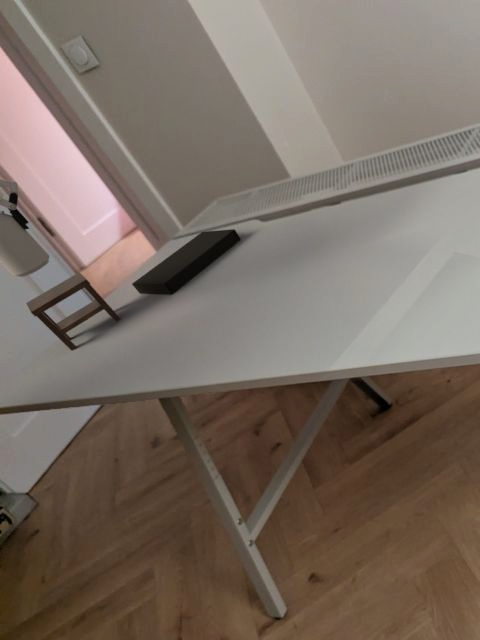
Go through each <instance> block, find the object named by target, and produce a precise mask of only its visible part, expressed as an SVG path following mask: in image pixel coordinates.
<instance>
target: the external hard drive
mask: <svg viewBox="0 0 480 640" xmlns="http://www.w3.org/2000/svg"><path fill="white" fill-rule="evenodd" d="M240 239H241V237H240V235H239V234H238V232H237V231H236V229H234V228H233V229H220V230H209V231H208V230H207V231H201V232H200V233H199V234H197V235H196V236H195V237H193V238H192V239H190V240H189V241H188V242H186V243H185V244H183V246H181V247H180V248H178V249H177V250H176V251H174V252H173V253H172V254H170V255H169V256H168V257H166V258H165V259H163V260H162V261H161V262H159V263H158V264H157V265H155V266H154V267H152V268H151V269H150V270H148V271H147V272H146V273H145V274H143V275H142V276H140V277H139V278H137V279H136V280H135V281H134V282H132V283H131V285H132V287H133V288H134V289H135V290H136V291H137V292H138V294H140V295H170V296H171V295H173V294H175V292H177V291H178V290H179V289H181V288H182V287H183V286H184V285H185V284H187V283H188V282H189V281H191V280H192V279H193V278H194V277H196V276H197V275H199V274H200V272H202V271H203V270H204V269H206V268H207V267H208V266H209V265H211V264H213V262H214V261H216V260H217V259H218V258H219V257H221V256H222V255H223V254H224V253H225V252H227V251H228V250H230V249H231V248H232V247H234V245H236V244H237V243H238V242H239V241H241V240H242V239H241V240H240ZM237 241H238V242H237ZM236 242H237V243H236ZM235 243H236V244H235Z"/></svg>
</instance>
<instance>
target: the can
mask: <svg viewBox="0 0 480 640" xmlns="http://www.w3.org/2000/svg"><path fill="white" fill-rule="evenodd" d="M49 259H50V255H49V253H48V252H47V251H46V250H45V249H44V248H43V247H42V246H41V245H40V244H39V242H38V241H37V240H36V239H35V238H34V237H33V236H32V235H31V234H30V233H29V231H28V230H27V229H24V228H23V226H22V225H21V224H20V223H19V222H18V221H17V220H16V219H15V218H14V217H13V216H12V214H8V213H5V210H0V264H1V265H2V266H3V267H4V268H5V269H6V270H7V271H8V272H9V273H10V274H11V275H12V276H14V277H20V278H23V277H24V278H25V277H28V276H30V275H32V274H35V273H36V272H38V271H40V270H41V269H42V268H44V267H45V266H47V265H48V263H50V261H49Z"/></svg>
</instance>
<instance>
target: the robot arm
mask: <svg viewBox="0 0 480 640" xmlns="http://www.w3.org/2000/svg"><path fill="white" fill-rule="evenodd" d="M18 186H19V185H18V183H17V182H16V181H12V180H5V179H0V187H1V188H8V190H9V196H8V200H7V199H4V198H3V197H4V195H3V192H2V191H1V190H0V206H2V207H4V208H6V209H7V210H8V212H9V213H10V215H12V216H13V217H14V218H15V219H16V220H17V221H18V222H19V223H20V224H21V225H22V226H23V228H24V229H26V230H29V229H30V227H29V226H28V225H27V224H29V223H30V221H28V219H27V218H26V217H25V216H24V215H23V214H22V213H21V211H20V210H18V201H19V187H18Z"/></svg>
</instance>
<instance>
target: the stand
mask: <svg viewBox="0 0 480 640" xmlns="http://www.w3.org/2000/svg"><path fill="white" fill-rule="evenodd" d="M84 289H85V290H86V291H87V293H88V294H89V295H90V296H91V297H92V298H93V299H94V300H93V301H91V302H90V303H88V304H85V306H83V307H81V308H80V309H78V310H76V311H75V312H73V313H71V314H70V315H68V316H66V317H65V318H63V319H61V320H60V321H58V322H55V320H54V319H53V318H52V317H51V316H50V315H49V314H48V313H47V312H46V311H48V310H49V309H50V308H53V307H54V306H56V305H58V304H59V303H61V302H63V301H64V300H66V299H67V298H69V297H71V296H72V295H74V294H76V293H77V292H79V291H81V290H84ZM25 304H26V306H27V308H28V310H29V311H30V314H32V315H33V316H34V317H35V318H36V317H37V319H38V320H39V321H40V322H42V324H43V325H45V327H47V328H48V330H49V331H51V332H52V333H53V334H54V335H55V336H56V337H57V338H58V339H59V341H61V342H62V343H63V344H64V345H65V346H66V347H67V348H68V349H69V350H70V351H74V350H75V349H77V348H76V347H77V345H76V344H75V343H74V342H72V340H71V339H70V338H71V336H70V335H69V334H68V332H70V331H71V330H73V329H74V328H77V327H78V326H79V325H81V324H82V323H85V322H86V321H87V320H89V319H90V318H93V317H94V316H95V315H97V314H99V313H100V312H102V311H103V310H104V311H105V312H106V313H107V314H108V315H109V316H110V317H111V318H112V320H113V321H114V322H115V323H117V322H119V321H122V317H120V316H119V315H118V313H116V311H115V310H113V308H112V307H111V306H110V305H109V304H108V303H107V302H106V301H105V299H104V298H103V297H102V296H101V295H100V294H99V293H98V292H97V290H96V289H95V288H94V287H93V286H92V285H91V282H90V281H89V280H88V279H87V278H86V277H85V276H84V275H83V274H82V272H77V273H75V274H74V275H71V276H70V277H69V278H67V279H65V280H64V281H62V282H60V283H58V284H57V285H54V286H53V287H51V288H50V289H48V290H46V291H45V292H42V293H40V294H39V295H37V296H36V297H33V298H32V299H30V300H29V301H27V302H26V303H25ZM69 339H70V340H69ZM73 349H74V350H73Z"/></svg>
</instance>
